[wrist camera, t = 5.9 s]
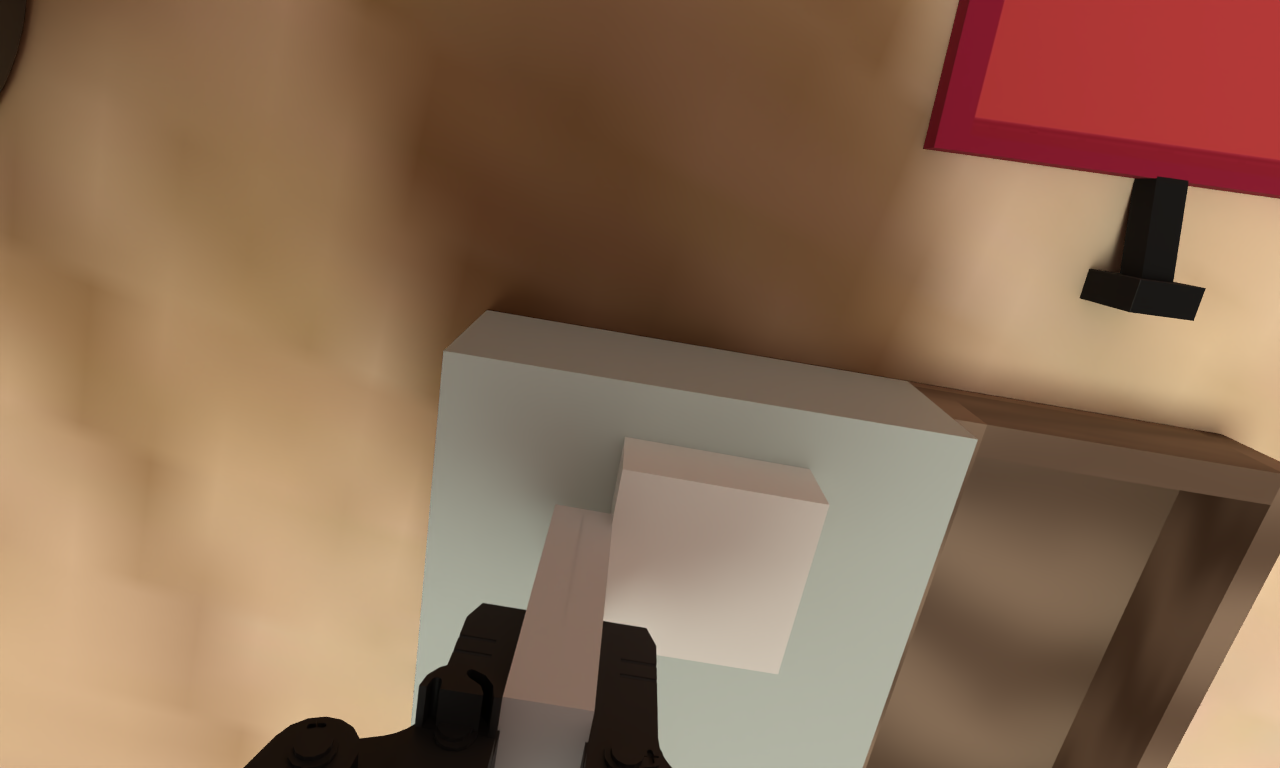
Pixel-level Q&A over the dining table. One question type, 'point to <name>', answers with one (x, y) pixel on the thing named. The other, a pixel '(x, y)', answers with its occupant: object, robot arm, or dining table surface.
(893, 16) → the dining table surface
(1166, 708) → the tray
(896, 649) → the board
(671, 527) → the tile
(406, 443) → the dining table surface
